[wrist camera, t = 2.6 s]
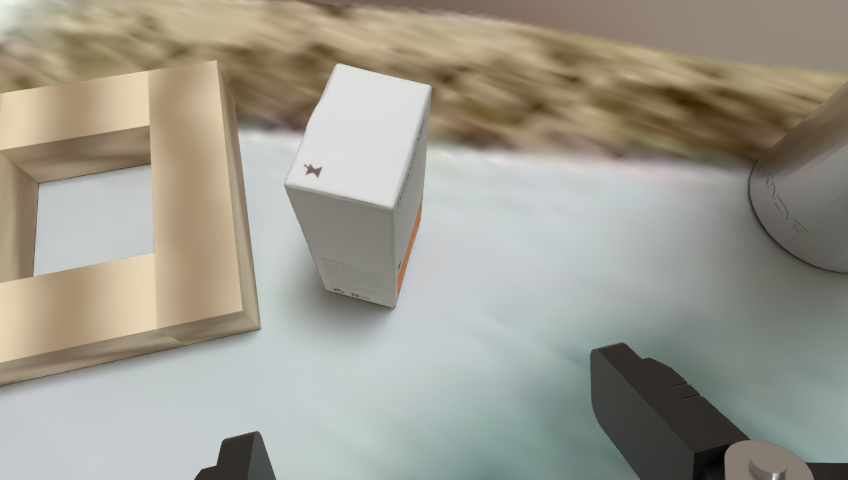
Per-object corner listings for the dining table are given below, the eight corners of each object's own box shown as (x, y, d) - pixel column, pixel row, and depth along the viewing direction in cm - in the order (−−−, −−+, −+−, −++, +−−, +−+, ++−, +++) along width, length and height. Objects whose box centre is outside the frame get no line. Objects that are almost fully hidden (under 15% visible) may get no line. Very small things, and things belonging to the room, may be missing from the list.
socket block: (233, 98, 34) (216, 60, 31) (260, 328, 28) (242, 310, 25) (-26, 140, 32) (-73, 104, 29) (-59, 398, 26) (-123, 388, 23)
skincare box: (397, 310, 29) (392, 214, 18) (324, 291, 29) (276, 185, 18) (424, 217, 31) (435, 82, 20) (356, 200, 32) (332, 58, 21)
